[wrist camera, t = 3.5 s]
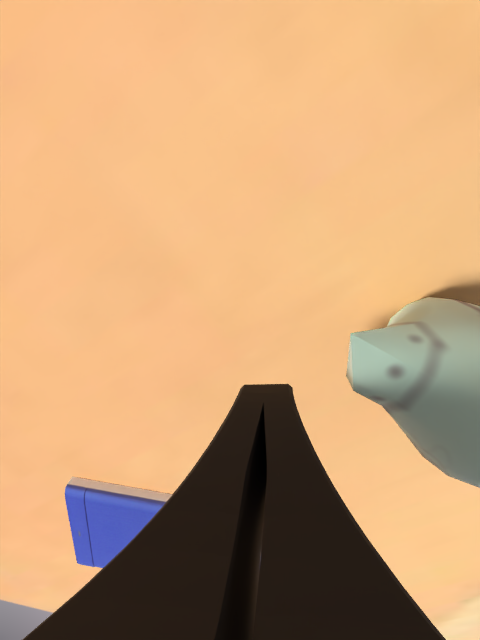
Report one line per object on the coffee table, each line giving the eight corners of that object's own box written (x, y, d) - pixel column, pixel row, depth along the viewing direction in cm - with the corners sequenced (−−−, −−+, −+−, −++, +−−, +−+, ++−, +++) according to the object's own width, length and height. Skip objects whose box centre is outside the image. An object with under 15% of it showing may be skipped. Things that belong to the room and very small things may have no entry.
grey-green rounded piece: (557, 292, 12) (806, 442, 6) (497, 381, 14) (645, 558, 9) (334, 249, 12) (380, 358, 7) (305, 344, 14) (320, 492, 9)
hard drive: (281, 531, 19) (62, 491, 20) (258, 602, 23) (76, 567, 24) (281, 504, 21) (76, 467, 21) (259, 575, 25) (88, 543, 25)
